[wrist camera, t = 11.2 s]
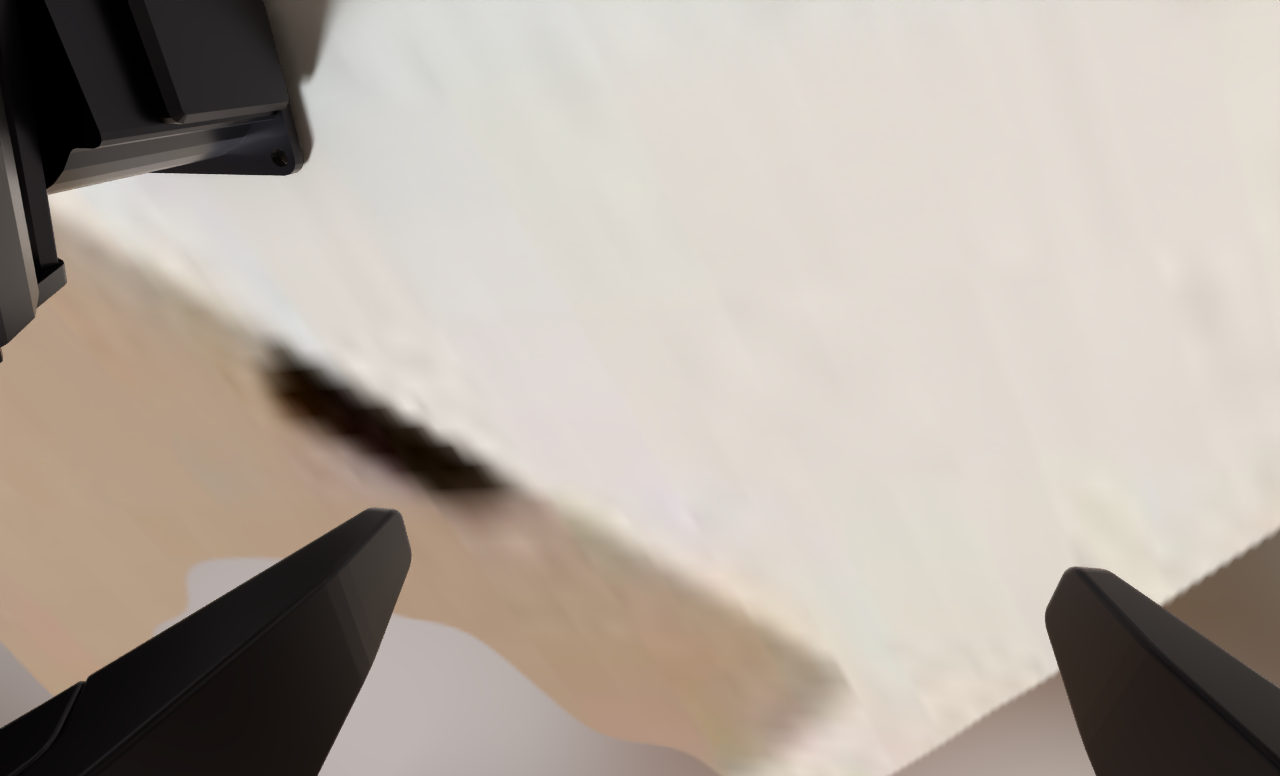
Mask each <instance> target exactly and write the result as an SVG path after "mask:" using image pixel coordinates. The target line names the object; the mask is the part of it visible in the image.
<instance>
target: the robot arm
mask: <svg viewBox="0 0 1280 776" xmlns="http://www.w3.org/2000/svg"><path fill="white" fill-rule="evenodd" d="M288 101H289V96H288V93H287V89H286V85H285V81H284V78H283V74H282V70H281V66H280V63H279V59H278V55H277V51H276V48H275V44H274V40H273V36H272V33H271V29H270V25H269V21H268V18H267V14H266V10H265V6H264V3H263V2H262V0H0V363H1V362H2V361H3V354H2V349H1V347H2V346H4V345H6V344H7V343H9V342H10V341H11V340H12V339H13V338H14V337H15V336H16V335H17V334H18V333H19V332H20V331H21V330H22V329H23V328H24V327H26V326H27V325H28V324H29V323H30V322H31V321H32V320H33V319H34V318H35V314H36V309H37V308H38V307H39V306H40V305H41V304H43V303H44V302H45V301H46V300H47V299H49V298H50V297H51V296H52V295H53V294H55V293H56V292H57V291H58V290H59V289H61V288H62V287H63V286H64V285H65V284H66V283H67V278H66V271H65V265H64V262H63V260H61V259H59V258H58V257H57V251H56V244H55V238H54V232H53V226H52V220H51V214H50V207H49V201H48V195H49V194H53V193H58V192H62V191H67V190H71V189H76V188H81V187H85V186H90V185H94V184H99V183H103V182H108V181H112V180H117V179H121V178H126V177H131V176H135V175H140V174H144V173H187V174H233V175H280V176H285V175H289V174H293V173H296V172H298V171H299V170H301V169H302V166H303V155H302V151H301V147H300V144H299V140H298V136H297V133H296V129H295V125H294V121H293V118H292V114H291V110H290V106H289V103H288ZM280 150H281V151H282V152H284V153H285V155H286V157H287V164H286V163H284V162H283V161H282V159H281V157H280V153H279V151H280ZM410 563H411V548H410V544H409V540H408V536H407V532H406V529H405V525H404V521H403V518H402V515H401V513H400V512H399V511H398V510H395V509H388V508H376V507H374V508H369V509H366V510H364V511H363V512H361V513H359V514H358V515H356V516H354V517H353V518H351V519H349V520H348V521H346V522H344V523H343V524H341V525H339V526H338V527H336V528H334V529H333V530H331V531H329V532H328V533H326V534H324V535H323V536H321V537H319V538H318V539H316V540H314V541H313V542H311V543H309V544H308V545H306V546H304V547H303V548H301V549H299V550H298V551H296V552H294V553H293V554H291V555H289V556H288V557H286V558H284V559H283V560H281V561H279V562H278V563H276V564H274V565H273V566H271V567H270V568H268V569H266V570H265V571H263V572H261V573H259V574H258V575H256V576H254V577H253V578H251V579H250V580H248V581H246V582H245V583H243V584H241V585H240V586H238V587H236V588H235V589H233V590H231V591H230V592H228V593H226V594H225V595H223V596H221V597H220V598H218V599H216V600H215V601H213V602H211V603H210V604H208V605H206V606H205V607H203V608H201V609H200V610H198V611H196V612H195V613H193V614H191V615H190V616H188V617H186V618H185V619H183V620H181V621H180V622H178V623H176V624H175V625H173V626H172V627H170V628H168V629H166V630H165V631H163V632H161V633H160V634H158V635H156V636H155V637H153V638H151V639H150V640H148V641H146V642H145V643H143V644H141V645H140V646H138V647H136V648H135V649H133V650H131V651H130V652H128V653H126V654H125V655H123V656H121V657H120V658H118V659H116V660H115V661H113V662H111V663H110V664H108V665H106V666H105V667H103V668H101V669H100V670H98V671H96V672H95V673H93V674H91V675H90V676H89V677H88V678H87V680H86V682H85V681H80V682H78V683H76V684H74V685H73V686H71V687H69V688H68V689H66V690H64V691H63V692H61V693H59V694H58V695H56V696H54V697H53V698H51V699H50V700H48V701H46V702H44V703H43V704H41V705H39V706H38V707H36V708H34V709H33V710H31V711H29V712H28V713H26V714H24V715H22V716H21V717H19V718H17V719H16V720H14V721H12V722H10V723H9V724H7V725H5V726H4V727H2V728H0V776H318V773H319V772H320V770H321V768H322V765H323V764H324V762H325V760H326V757H327V756H328V753H329V752H330V750H331V747H332V746H333V744H334V742H335V740H336V738H337V736H338V734H339V732H340V730H341V727H342V726H343V724H344V722H345V720H346V717H347V716H348V714H349V712H350V710H351V707H352V706H353V704H354V702H355V699H356V697H357V696H358V693H359V692H360V690H361V688H362V686H363V684H364V681H365V679H366V677H367V675H368V673H369V671H370V669H371V666H372V664H373V661H374V659H375V657H376V654H377V652H378V649H379V647H380V643H381V641H382V639H383V636H384V634H385V631H386V628H387V626H388V623H389V620H390V618H391V615H392V612H393V610H394V607H395V604H396V602H397V599H398V597H399V594H400V591H401V589H402V586H403V583H404V581H405V578H406V575H407V573H408V570H409V567H410ZM1045 624H1046V629H1047V632H1048V636H1049V639H1050V642H1051V645H1052V648H1053V651H1054V654H1055V658H1056V661H1057V664H1058V667H1059V670H1060V673H1061V677H1062V680H1063V683H1064V686H1065V689H1066V692H1067V695H1068V699H1069V702H1070V705H1071V708H1072V711H1073V714H1074V717H1075V721H1076V724H1077V727H1078V730H1079V733H1080V735H1081V738H1082V741H1083V744H1084V746H1085V750H1086V752H1087V754H1088V757H1089V759H1090V762H1091V764H1092V767H1093V769H1094V771H1095V774H1096V776H1280V688H1279V687H1277V686H1276V685H1275V684H1273V683H1272V682H1270V681H1269V680H1267V679H1266V678H1264V677H1263V676H1262V675H1260V674H1258V673H1257V672H1256V671H1254V670H1253V669H1251V668H1250V667H1248V666H1247V665H1245V664H1244V663H1243V662H1241V661H1240V660H1238V659H1237V658H1235V657H1233V656H1232V655H1231V654H1230V653H1228V652H1226V651H1225V650H1224V649H1222V648H1221V647H1219V646H1218V645H1216V644H1215V643H1213V642H1212V641H1211V640H1209V639H1208V638H1206V637H1205V636H1203V635H1202V634H1200V633H1199V632H1198V631H1196V630H1195V629H1193V628H1192V627H1190V626H1189V625H1187V624H1186V623H1185V622H1183V621H1182V620H1180V619H1179V618H1177V617H1176V616H1174V615H1173V614H1171V613H1170V612H1169V611H1167V610H1166V609H1164V608H1163V607H1161V606H1160V605H1158V604H1157V603H1155V602H1154V601H1153V600H1151V599H1150V598H1148V597H1147V596H1145V595H1144V594H1142V593H1141V592H1139V591H1138V590H1137V589H1135V588H1134V587H1132V586H1131V585H1129V584H1128V583H1126V582H1125V581H1123V580H1122V579H1121V578H1119V577H1118V576H1116V575H1115V574H1113V573H1111V572H1110V571H1108V570H1104V569H1100V568H1088V567H1070V568H1069V569H1067V570H1066V571H1065V572H1064V574H1063V575H1062V578H1061V580H1060V582H1059V584H1058V586H1057V588H1056V590H1055V592H1054V594H1053V596H1052V598H1051V600H1050V602H1049V604H1048V606H1047V608H1046V613H1045Z"/></svg>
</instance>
